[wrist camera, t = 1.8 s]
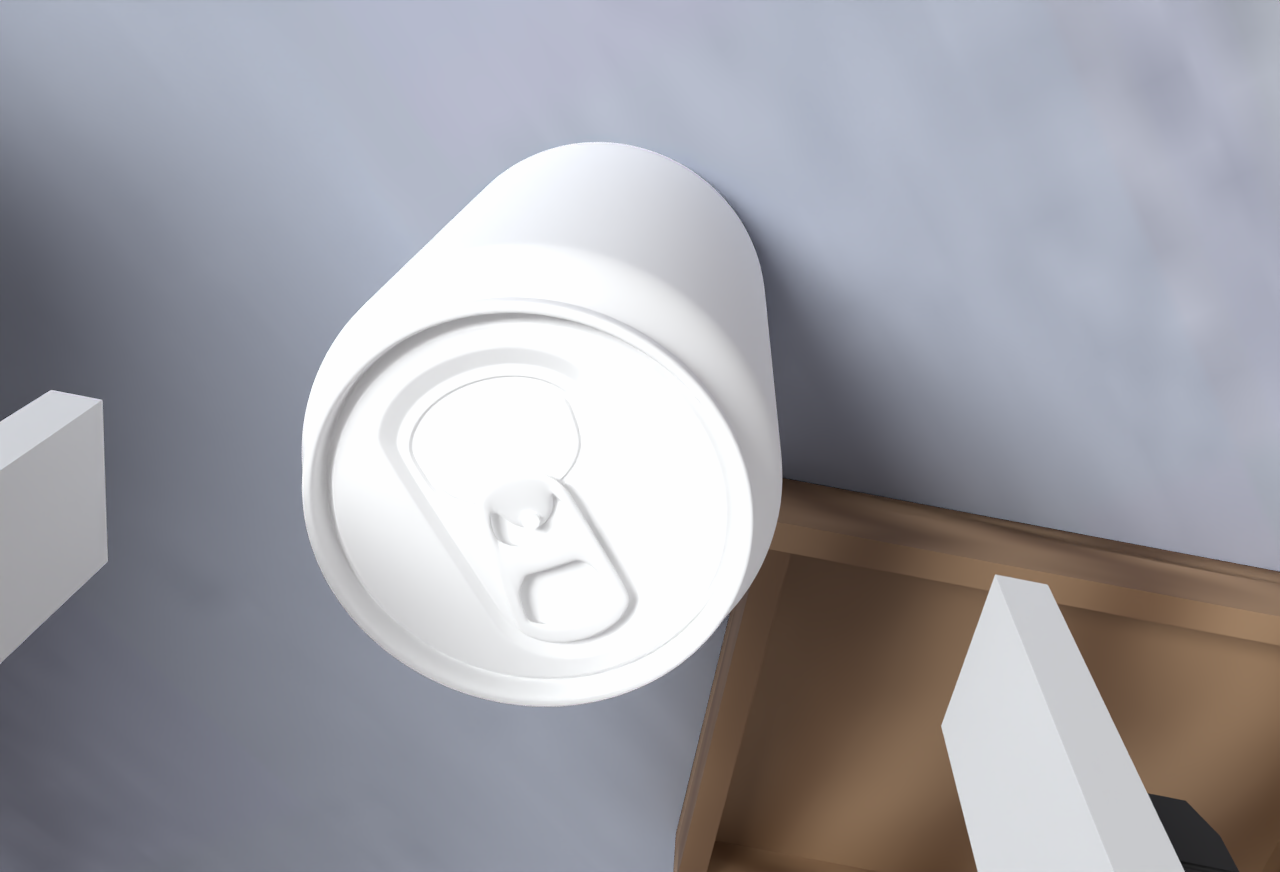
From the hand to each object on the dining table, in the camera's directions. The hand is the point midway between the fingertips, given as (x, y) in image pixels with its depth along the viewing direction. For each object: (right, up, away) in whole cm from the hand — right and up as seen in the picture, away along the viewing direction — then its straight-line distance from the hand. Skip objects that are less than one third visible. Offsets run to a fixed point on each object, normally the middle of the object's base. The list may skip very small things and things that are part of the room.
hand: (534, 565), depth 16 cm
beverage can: (+1, +5, +12) cm, 13 cm away
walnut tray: (+13, -7, +16) cm, 22 cm away
